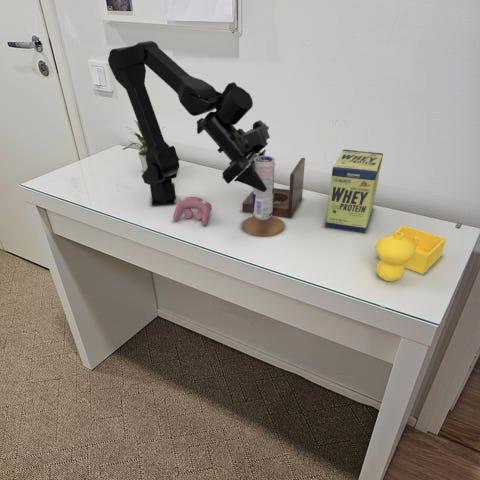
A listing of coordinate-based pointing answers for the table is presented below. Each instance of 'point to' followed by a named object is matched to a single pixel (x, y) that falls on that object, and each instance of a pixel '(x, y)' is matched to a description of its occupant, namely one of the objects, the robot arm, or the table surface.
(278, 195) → the can rack
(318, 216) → the table surface
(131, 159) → the table surface
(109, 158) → the table surface
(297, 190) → the panel
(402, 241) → the bath set
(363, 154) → the protein box
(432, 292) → the table surface
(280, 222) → the cork coaster
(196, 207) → the video game controller
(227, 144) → the robot arm
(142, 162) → the house plant
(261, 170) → the beverage can
